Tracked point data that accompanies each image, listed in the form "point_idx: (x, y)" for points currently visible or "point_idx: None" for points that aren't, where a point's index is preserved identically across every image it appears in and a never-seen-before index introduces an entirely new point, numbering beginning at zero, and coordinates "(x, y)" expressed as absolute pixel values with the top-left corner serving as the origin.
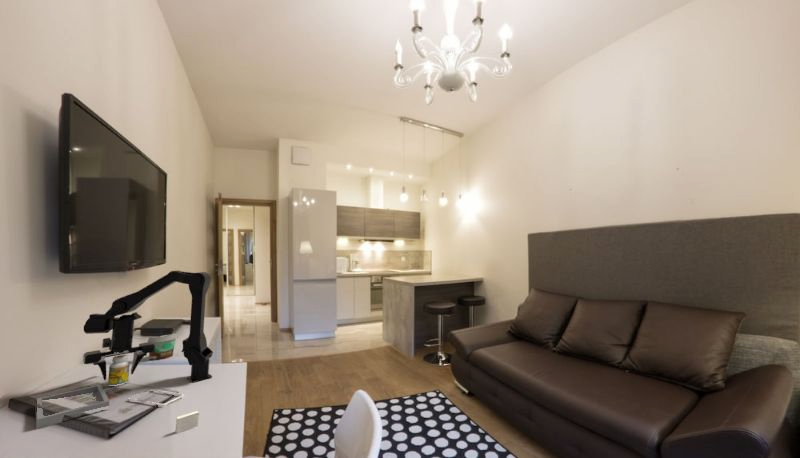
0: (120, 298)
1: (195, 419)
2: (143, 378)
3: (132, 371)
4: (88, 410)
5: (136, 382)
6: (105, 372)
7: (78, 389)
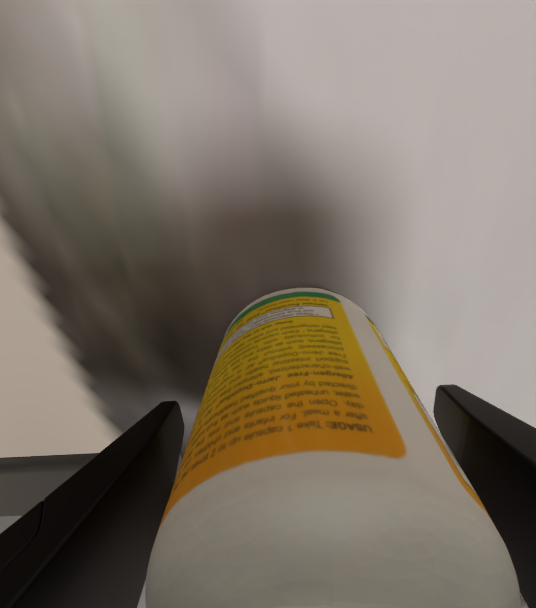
0: None
1: None
2: (515, 340)
3: (458, 458)
4: None
5: (430, 410)
6: (139, 573)
7: (9, 520)
